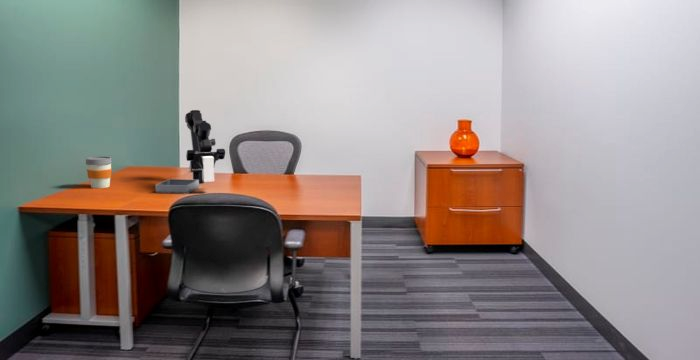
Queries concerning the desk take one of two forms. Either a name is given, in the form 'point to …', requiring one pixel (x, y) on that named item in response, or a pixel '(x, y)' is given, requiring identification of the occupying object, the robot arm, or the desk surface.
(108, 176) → the reusable coffee cup
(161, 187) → the tray
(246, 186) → the desk surface
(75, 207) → the desk surface
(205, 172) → the cream block
